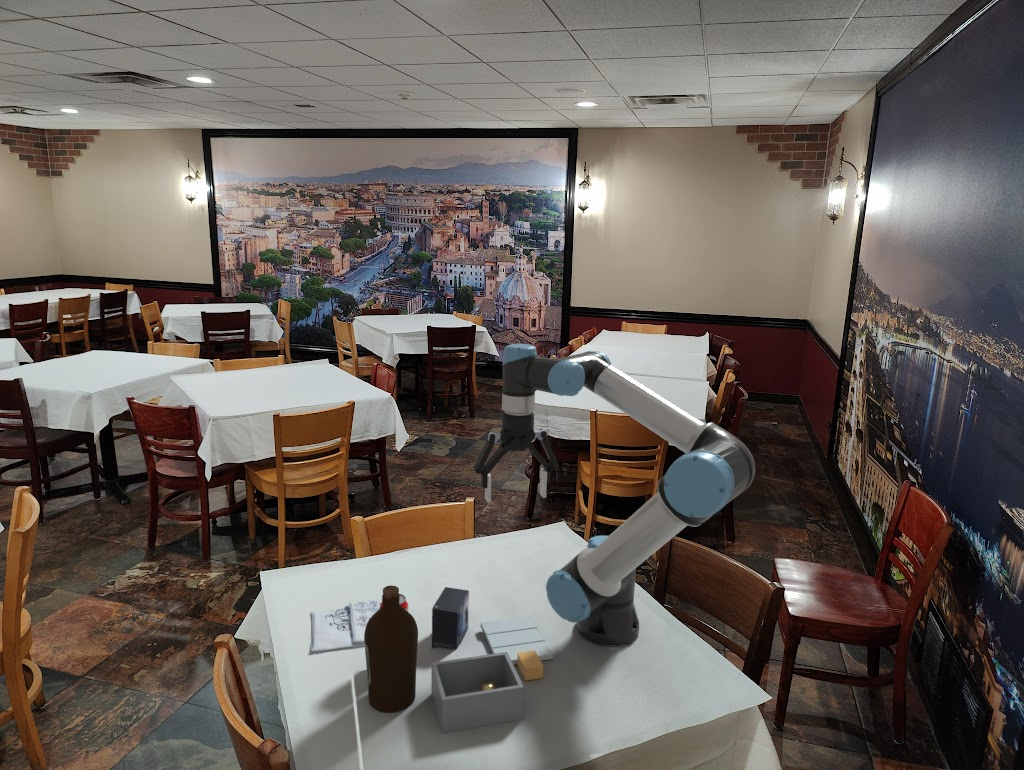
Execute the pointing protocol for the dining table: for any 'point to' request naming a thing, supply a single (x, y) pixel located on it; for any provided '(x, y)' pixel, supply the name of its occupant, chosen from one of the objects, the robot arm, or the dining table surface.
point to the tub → (476, 692)
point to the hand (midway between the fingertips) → (515, 498)
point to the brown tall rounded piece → (391, 655)
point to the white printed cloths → (341, 626)
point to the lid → (519, 643)
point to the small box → (450, 618)
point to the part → (488, 685)
